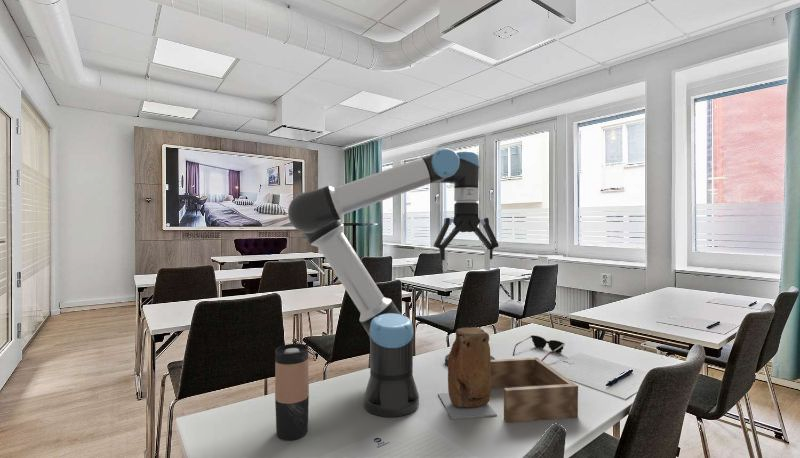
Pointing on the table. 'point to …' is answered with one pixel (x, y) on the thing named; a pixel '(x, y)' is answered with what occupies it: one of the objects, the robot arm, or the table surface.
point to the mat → (465, 409)
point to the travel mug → (291, 391)
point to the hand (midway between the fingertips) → (466, 270)
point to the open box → (533, 390)
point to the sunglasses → (541, 343)
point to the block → (469, 368)
